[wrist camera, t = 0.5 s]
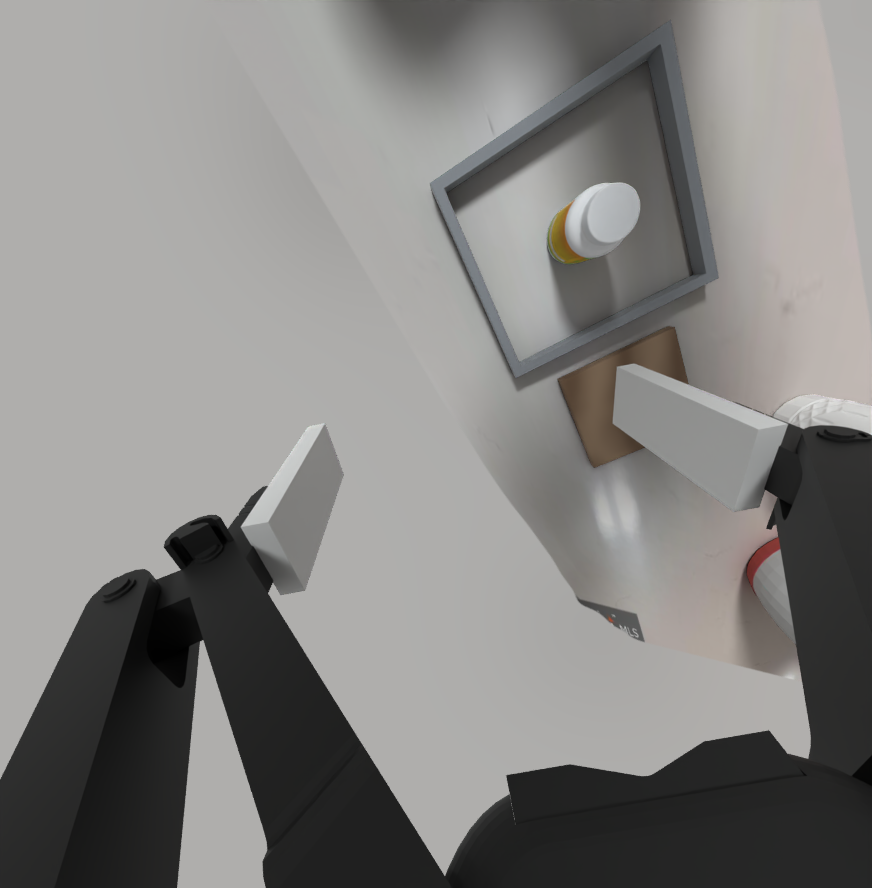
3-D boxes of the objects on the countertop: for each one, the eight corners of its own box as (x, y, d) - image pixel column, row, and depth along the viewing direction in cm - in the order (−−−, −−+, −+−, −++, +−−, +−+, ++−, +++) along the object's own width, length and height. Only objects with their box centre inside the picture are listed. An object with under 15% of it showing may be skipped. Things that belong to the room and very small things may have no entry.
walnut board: (668, 326, 37) (674, 327, 36) (692, 422, 42) (698, 425, 41) (557, 379, 40) (560, 381, 39) (590, 463, 45) (594, 467, 44)
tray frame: (656, 37, 28) (670, 19, 26) (704, 278, 35) (718, 277, 34) (431, 189, 33) (429, 183, 31) (513, 374, 40) (515, 377, 38)
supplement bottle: (562, 276, 36) (598, 269, 27) (535, 231, 34) (564, 207, 25) (608, 240, 34) (663, 219, 25) (582, 190, 33) (631, 151, 24)
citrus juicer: (737, 616, 55) (880, 775, 36) (724, 539, 49) (887, 683, 30) (847, 589, 51) (1064, 749, 33) (847, 503, 45) (1113, 641, 27)
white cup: (750, 421, 41) (834, 456, 32) (815, 375, 39) (927, 399, 30) (781, 460, 43) (869, 503, 34) (845, 418, 41) (959, 452, 32)
